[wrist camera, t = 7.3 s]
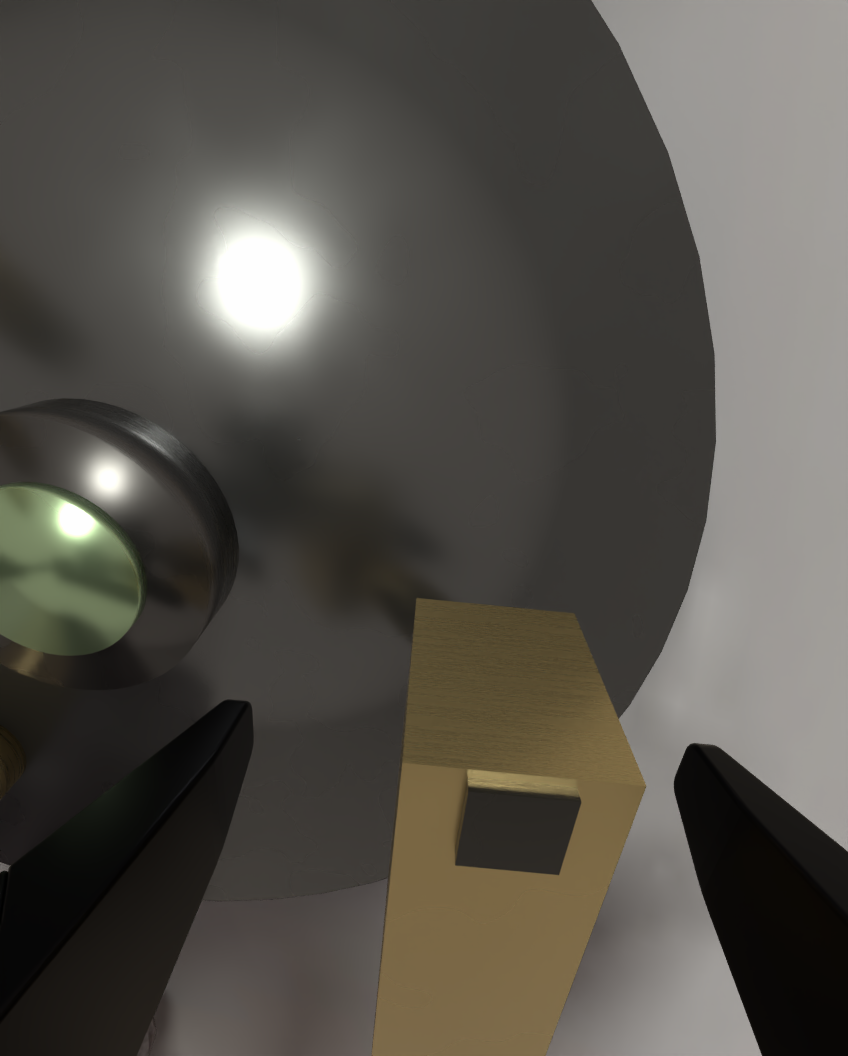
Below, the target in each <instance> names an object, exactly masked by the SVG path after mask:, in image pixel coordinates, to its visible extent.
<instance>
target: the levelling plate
mask: <svg viewBox="0 0 848 1056" xmlns="http://www.w3.org/2000/svg"><path fill="white" fill-rule="evenodd" d="M715 444H716V422H715V361H714V348H713V342H712V335H711V329H710V322H709V316H708V309H707V303H706V297H705V290H704V284H703V277H702V271H701V264H700V258H699V254H698V251H697V247H696V244H695V241H694V237H693V234H692V231H691V227H690V224H689V221H688V217H687V214H686V211H685V207H684V204H683V201H682V197H681V194H680V191H679V187H678V184H677V181H676V177H675V174H674V171H673V167H672V164H671V161H670V157H669V154H668V151H667V149H666V147H665V145H664V143H663V140H662V138H661V136H660V134H659V132H658V129H657V127H656V125H655V123H654V121H653V118H652V116H651V114H650V112H649V110H648V107H647V105H646V103H645V101H644V99H643V96H642V94H641V92H640V90H639V88H638V85H637V83H636V81H635V79H634V77H633V74H632V72H631V70H630V68H629V66H628V63H627V61H626V59H625V57H624V55H623V52H622V50H621V48H620V46H619V44H618V42H617V40H616V39H615V37H614V36H613V34H612V33H611V31H610V29H609V28H608V26H607V25H606V23H605V21H604V20H603V18H602V17H601V15H600V14H599V12H598V10H597V9H596V7H595V6H594V4H593V2H592V1H591V0H0V862H2V863H4V864H7V865H12V864H13V863H14V862H15V861H17V860H18V859H19V858H21V857H22V856H23V855H25V854H26V853H27V852H28V851H30V850H31V849H32V848H34V847H35V846H36V845H37V844H39V843H40V842H41V841H43V840H44V839H45V838H46V837H48V836H49V835H50V834H52V833H53V832H54V831H56V830H57V829H58V828H59V827H61V826H62V825H63V824H65V823H66V822H67V821H68V820H70V819H71V818H72V817H74V816H75V815H76V814H77V813H79V812H80V811H81V810H83V809H84V808H85V807H86V806H88V805H89V804H90V803H92V802H93V801H94V800H96V799H97V798H98V797H99V796H101V795H102V794H103V793H105V792H106V791H107V790H108V789H110V788H111V787H112V786H114V785H115V784H116V783H117V782H119V781H120V780H121V779H123V778H124V777H125V776H127V775H128V774H129V773H130V772H132V771H133V770H134V769H136V768H137V767H138V766H139V765H141V764H142V763H143V762H145V761H146V760H147V759H148V758H150V757H151V756H152V755H154V754H155V753H156V752H157V751H159V750H160V749H161V748H163V747H164V746H165V745H167V744H168V743H169V742H170V741H172V740H173V739H174V738H176V737H177V736H178V735H179V734H181V733H182V732H183V731H185V730H186V729H187V728H188V727H190V726H191V725H192V724H194V723H195V722H196V721H198V720H199V719H200V718H201V717H203V716H204V715H205V714H207V713H208V712H209V711H210V710H212V709H213V708H214V707H216V706H217V705H218V704H219V703H221V702H222V701H224V700H227V699H232V700H243V701H248V702H250V703H251V706H252V713H253V731H254V744H253V750H252V754H251V757H250V761H249V764H248V767H247V771H246V774H245V777H244V781H243V784H242V787H241V791H240V794H239V797H238V801H237V804H236V807H235V811H234V814H233V817H232V821H231V824H230V827H229V831H228V834H227V837H226V840H225V843H224V846H223V849H222V852H221V855H220V857H219V860H218V862H217V865H216V867H215V870H214V872H213V875H212V877H211V879H210V882H209V884H208V887H207V889H206V891H205V894H204V896H203V899H202V900H208V901H240V900H272V899H280V898H288V897H297V896H305V895H314V894H322V893H327V892H331V891H336V890H341V889H345V888H350V887H355V886H359V885H364V884H368V883H373V882H376V881H379V880H382V879H385V878H388V874H389V864H390V854H391V844H392V834H393V824H394V814H395V805H396V795H397V785H398V775H399V765H400V756H401V746H402V736H403V726H404V716H405V707H406V697H407V687H408V677H409V667H410V657H411V648H412V638H413V628H414V618H415V608H416V599H417V598H422V599H433V600H443V601H453V602H463V603H474V604H484V605H494V606H504V607H515V608H525V609H535V610H545V611H556V612H566V613H574V614H575V616H576V618H577V621H578V623H579V626H580V628H581V630H582V633H583V635H584V638H585V640H586V642H587V645H588V647H589V650H590V652H591V654H592V657H593V659H594V662H595V664H596V666H597V669H598V671H599V674H600V676H601V678H602V681H603V683H604V686H605V688H606V690H607V693H608V695H609V698H610V700H611V702H612V705H613V707H614V710H615V712H616V715H617V717H618V719H619V718H620V716H621V715H622V714H623V713H624V711H625V710H626V709H627V708H628V706H629V705H630V704H631V702H632V700H633V699H634V697H635V695H636V693H637V692H638V690H639V688H640V687H641V685H642V683H643V682H644V680H645V678H646V677H647V675H648V673H649V672H650V670H651V668H652V667H653V665H654V663H655V662H656V660H657V658H658V657H659V655H660V653H661V652H662V649H663V647H664V644H665V642H666V640H667V637H668V635H669V633H670V630H671V628H672V626H673V623H674V621H675V619H676V616H677V614H678V611H679V609H680V607H681V604H682V602H683V600H684V597H685V595H686V593H687V590H688V586H689V583H690V579H691V575H692V571H693V568H694V564H695V560H696V557H697V553H698V549H699V545H700V542H701V538H702V534H703V530H704V527H705V523H706V518H707V509H708V501H709V493H710V485H711V477H712V469H713V461H714V452H715Z"/></svg>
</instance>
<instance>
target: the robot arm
mask: <svg viewBox="0 0 848 1056" xmlns="http://www.w3.org/2000/svg"><path fill="white" fill-rule="evenodd" d="M253 744H254V731H253V713H252V706H251V703H250V702H248V701H243V700H232V699H227V700H224V701H222V702H221V703H219V704H218V705H217V706H216V707H214V708H213V709H212V710H210V711H209V712H208V713H207V714H205V715H204V716H203V717H201V718H200V719H199V720H198V721H196V722H195V723H194V724H192V725H191V726H190V727H188V728H187V729H186V730H185V731H183V732H182V733H181V734H179V735H178V736H177V737H176V738H174V739H173V740H172V741H170V742H169V743H168V744H167V745H165V746H164V747H163V748H161V749H160V750H159V751H157V752H156V753H155V754H154V755H152V756H151V757H150V758H148V759H147V760H146V761H145V762H143V763H142V764H141V765H139V766H138V767H137V768H136V769H134V770H133V771H132V772H130V773H129V774H128V775H127V776H125V777H124V778H123V779H121V780H120V781H119V782H117V783H116V784H115V785H114V786H112V787H111V788H110V789H108V790H107V791H106V792H105V793H103V794H102V795H101V796H99V797H98V798H97V799H96V800H94V801H93V802H92V803H90V804H89V805H88V806H86V807H85V808H84V809H83V810H81V811H80V812H79V813H77V814H76V815H75V816H74V817H72V818H71V819H70V820H68V821H67V822H66V823H65V824H63V825H62V826H61V827H59V828H58V829H57V830H56V831H54V832H53V833H52V834H50V835H49V836H48V837H46V838H45V839H44V840H43V841H41V842H40V843H39V844H37V845H36V846H35V847H34V848H32V849H31V850H30V851H28V852H27V853H26V854H25V855H23V856H22V857H21V858H19V859H18V860H17V861H15V862H14V863H13V864H12V865H11V866H10V867H9V869H8V872H7V871H3V872H1V873H0V1056H137V1055H138V1052H139V1050H140V1047H141V1045H142V1043H143V1040H144V1038H145V1035H146V1033H147V1031H148V1028H149V1026H150V1023H151V1021H152V1019H153V1016H154V1014H155V1011H156V1009H157V1007H158V1004H159V1002H160V999H161V997H162V995H163V992H164V990H165V987H166V985H167V983H168V980H169V978H170V975H171V973H172V971H173V968H174V966H175V963H176V961H177V959H178V956H179V954H180V951H181V949H182V947H183V944H184V942H185V939H186V937H187V935H188V932H189V930H190V927H191V925H192V923H193V920H194V918H195V915H196V913H197V911H198V908H199V906H200V903H201V901H202V899H203V896H204V894H205V891H206V889H207V887H208V884H209V882H210V879H211V877H212V875H213V872H214V870H215V867H216V865H217V862H218V860H219V857H220V855H221V852H222V849H223V846H224V843H225V840H226V837H227V834H228V831H229V827H230V824H231V821H232V817H233V814H234V811H235V807H236V804H237V801H238V797H239V794H240V791H241V787H242V784H243V781H244V777H245V774H246V771H247V767H248V764H249V761H250V757H251V754H252V750H253ZM674 792H675V796H676V800H677V804H678V808H679V811H680V815H681V819H682V822H683V826H684V830H685V834H686V837H687V841H688V845H689V848H690V852H691V856H692V860H693V863H694V867H695V871H696V875H697V878H698V881H699V885H700V888H701V891H702V894H703V897H704V900H705V903H706V906H707V909H708V912H709V914H710V917H711V920H712V922H713V925H714V928H715V930H716V933H717V936H718V938H719V941H720V944H721V947H722V949H723V952H724V955H725V957H726V960H727V963H728V965H729V968H730V971H731V973H732V976H733V979H734V981H735V984H736V987H737V990H738V992H739V995H740V998H741V1000H742V1003H743V1006H744V1008H745V1011H746V1014H747V1016H748V1019H749V1022H750V1024H751V1027H752V1030H753V1033H754V1035H755V1038H756V1041H757V1043H758V1046H759V1049H760V1051H761V1054H762V1056H848V851H846V850H845V849H844V848H843V847H842V846H840V845H839V844H838V843H837V842H835V841H834V840H833V839H832V838H830V837H829V836H828V835H827V834H826V833H824V832H823V831H822V830H821V829H819V828H818V827H817V826H816V825H814V824H813V823H812V822H811V821H809V820H808V819H807V818H806V817H805V816H803V815H802V814H801V813H800V812H798V811H797V810H796V809H795V808H793V807H792V806H791V805H790V804H789V803H787V802H786V801H785V800H784V799H782V798H781V797H780V796H779V795H777V794H776V793H775V792H774V791H772V790H771V789H770V788H769V787H768V786H766V785H765V784H764V783H763V782H761V781H760V780H759V779H758V778H756V777H755V776H754V775H753V774H752V773H750V772H749V771H748V770H747V769H745V768H744V767H743V766H742V765H740V764H739V763H738V762H737V761H735V760H734V759H733V758H732V757H731V756H729V755H728V754H727V753H726V752H724V751H723V750H722V749H720V748H719V747H717V746H715V745H709V744H698V743H693V744H690V745H689V746H688V747H687V748H686V750H685V753H684V755H683V758H682V760H681V763H680V765H679V768H678V770H677V773H676V775H675V779H674Z"/></svg>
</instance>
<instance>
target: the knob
mask: <svg viewBox="0 0 848 1056" xmlns="http://www.w3.org/2000/svg"><path fill="white" fill-rule="evenodd" d="M645 788H646V784H645V782H644V779H643V777H642V775H641V772H640V770H639V767H638V765H637V763H636V760H635V758H634V755H633V753H632V751H631V748H630V746H629V743H628V741H627V739H626V736H625V734H624V731H623V729H622V727H621V724H620V722H619V719H618V717H617V715H616V712H615V710H614V707H613V705H612V702H611V700H610V698H609V695H608V693H607V690H606V688H605V686H604V683H603V681H602V678H601V676H600V674H599V671H598V669H597V666H596V664H595V662H594V659H593V657H592V654H591V652H590V650H589V647H588V645H587V642H586V640H585V638H584V635H583V633H582V630H581V628H580V626H579V623H578V621H577V618H576V616H575V614H574V613H566V612H556V611H545V610H535V609H525V608H515V607H504V606H494V605H484V604H474V603H463V602H453V601H443V600H433V599H422V598H417V599H416V608H415V618H414V628H413V638H412V648H411V657H410V667H409V677H408V687H407V697H406V707H405V716H404V726H403V736H402V746H401V756H400V765H399V775H398V785H397V795H396V805H395V814H394V824H393V834H392V844H391V854H390V864H389V874H388V885H387V896H386V906H385V917H384V928H383V938H382V949H381V960H380V970H379V981H378V992H377V1002H376V1013H375V1024H374V1034H373V1045H372V1056H545V1055H546V1052H547V1050H548V1047H549V1044H550V1042H551V1039H552V1036H553V1034H554V1031H555V1028H556V1026H557V1023H558V1020H559V1018H560V1015H561V1012H562V1010H563V1007H564V1004H565V1002H566V999H567V996H568V994H569V991H570V988H571V986H572V983H573V980H574V978H575V975H576V972H577V970H578V967H579V964H580V962H581V959H582V956H583V954H584V951H585V948H586V946H587V943H588V940H589V938H590V935H591V932H592V930H593V927H594V924H595V922H596V919H597V916H598V914H599V911H600V908H601V906H602V903H603V900H604V898H605V895H606V892H607V890H608V887H609V884H610V882H611V879H612V876H613V874H614V871H615V868H616V866H617V863H618V860H619V858H620V855H621V852H622V850H623V847H624V844H625V842H626V839H627V836H628V834H629V831H630V828H631V826H632V823H633V820H634V818H635V815H636V812H637V810H638V807H639V804H640V802H641V799H642V796H643V794H644V791H645Z"/></svg>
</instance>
